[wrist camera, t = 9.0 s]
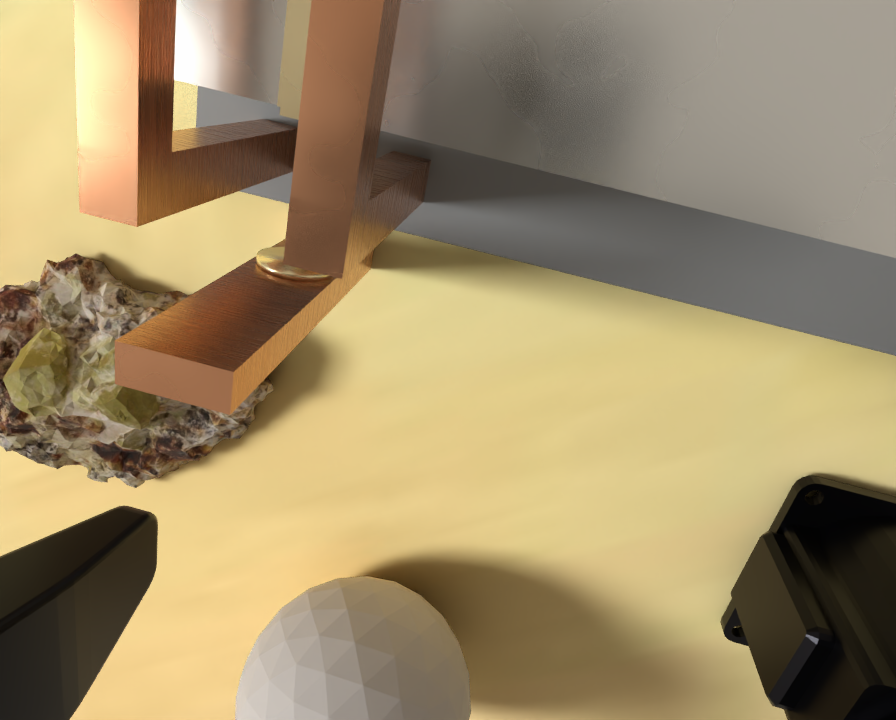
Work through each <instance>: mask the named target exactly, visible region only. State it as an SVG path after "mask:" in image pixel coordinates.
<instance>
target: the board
mask: <svg viewBox="0 0 896 720" xmlns="http://www.w3.org/2000/svg"><path fill="white" fill-rule="evenodd" d="M258 119H266V120H270V121H274V122H278V123H282V124H286V125H290V126H295V127H298V120H297V119H293V118H289V117H285V116H281V115H280V107H278V106H277V105H275V104H271V103H267V102H263V101H259V100H254V99H250V98H246V97H242V96H238V95H234V94H230V93H226V92H222V91H218V90H214V89H210V88H206V87H202V86H198V98H197V120H196V128H199V127H206V126H214V125H221V124H229V123H236V122H244V121H251V120H258ZM392 151H397V152H401V153H405V154H409V155H413V156H417V157H421V158H425V159H429V160H431V164H430V169H429V175H428V180H427V185H426V190H425V195H424V200H423V203H422V204H421V205H420V206H419V207H418V208H417V209H416V210H415V211H413V212H412V213H411V214H410V215H409V216H408V217H407V218H406V219H405V220H404V221H403V222H402V223H401V224H400V225H399V226H398V227H397V228H396V229H395V230H396V231H400V232H404V233H408V234H412V235H416V236H420V237H424V238H428V239H432V240H436V241H440V242H444V243H448V244H452V245H456V246H460V247H464V248H468V249H472V250H476V251H480V252H484V253H488V254H492V255H496V256H500V257H504V258H508V259H512V260H516V261H520V262H524V263H528V264H532V265H536V266H540V267H544V268H548V269H552V270H556V271H560V272H564V273H568V274H572V275H576V276H580V277H584V278H588V279H592V280H596V281H600V282H604V283H608V284H612V285H616V286H620V287H624V288H628V289H632V290H636V291H640V292H644V293H648V294H652V295H656V296H660V297H664V298H668V299H672V300H676V301H680V302H684V303H688V304H692V305H696V306H700V307H704V308H708V309H712V310H716V311H720V312H724V313H728V314H732V315H736V316H740V317H744V318H748V319H752V320H756V321H760V322H764V323H768V324H772V325H776V326H780V327H784V328H788V329H792V330H796V331H800V332H804V333H808V334H812V335H816V336H820V337H824V338H828V339H832V340H836V341H839V342H843V343H847V344H851V345H855V346H859V347H863V348H867V349H871V350H875V351H879V352H883V353H887V354H891V355H895V356H896V258H893V257H889V256H885V255H881V254H877V253H873V252H869V251H865V250H861V249H857V248H853V247H849V246H845V245H841V244H837V243H833V242H829V241H825V240H821V239H817V238H813V237H809V236H804V235H800V234H796V233H792V232H788V231H784V230H780V229H776V228H772V227H768V226H764V225H760V224H756V223H752V222H748V221H744V220H740V219H736V218H732V217H728V216H724V215H720V214H716V213H711V212H707V211H703V210H699V209H695V208H691V207H687V206H683V205H679V204H675V203H671V202H667V201H663V200H659V199H655V198H651V197H647V196H643V195H639V194H635V193H631V192H627V191H623V190H618V189H614V188H610V187H606V186H602V185H598V184H594V183H590V182H586V181H582V180H578V179H574V178H570V177H566V176H562V175H558V174H554V173H550V172H546V171H542V170H538V169H534V168H529V167H525V166H521V165H517V164H513V163H509V162H505V161H501V160H497V159H493V158H489V157H485V156H481V155H477V154H473V153H469V152H465V151H461V150H457V149H453V148H449V147H445V146H441V145H436V144H432V143H428V142H424V141H420V140H416V139H412V138H408V137H404V136H400V135H396V134H392V133H388V132H384V131H380V135H379V141H378V148H377V154H376V158H378V157H381V156H383V155H385V154H387V153H390V152H392ZM292 176H293V172H291V173H288V174H285V175H282V176H280V177H277V178H274V179H271V180H268V181H265V182H263V183H260V184H257V185H254V186H251V187H248V188H246V189H243V190H240V191H241V192H245V193H249V194H253V195H257V196H261V197H265V198H269V199H273V200H277V201H281V202H285V203H290V194H291V185H292Z"/></svg>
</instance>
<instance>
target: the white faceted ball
mask: <svg viewBox="0 0 896 720" xmlns="http://www.w3.org/2000/svg"><path fill="white" fill-rule="evenodd" d="M470 713H471V704H470V681H469V671H468V668H467V665H466V662H465V659H464V656H463V653H462V650H461V647H460V644H459V641H458V640H457V638H456V636H455V635H454V633H453V631H452V630H451V628H450V627H449V625H448V623H447V622H446V620H445V618H444V617H443V615H442V614H440V613H439V612H438V611H437V610H436V609H435V608H434V607H433V606H432V605H431V604H430V603H429V602H427V601H426V600H425V599H424V598H423V597H422V596H421V595H420V594H418V593H416V592H414V591H412V590H410V589H408V588H406V587H404V586H403V585H401V584H399V583H397V582H395V581H390V580H384V579H379V578H374V577H369V576H362V577H350V578H339V579H335V580H332V581H329V582H326V583H324V584H321V585H318V586H315V587H312V588H310V589H308V590H306V591H305V592H304V593H302V594H301V595H299V596H298V597H296V598H295V599H294V600H292V601H291V602H289V603H288V604H286V605H285V606H284V607H282V608H281V609H280V611H279V612H278V613H277V614H276V615H275V617H274V618H273V619H272V620H271V621H270V623H269V624H268V625H267V626H266V628H265V629H264V630H263V631H262V633H261V634H260V635H259V636H258V638H257V640H256V642H255V644H254V646H253V648H252V650H251V652H250V654H249V656H248V658H247V660H246V663H245V666H244V669H243V672H242V675H241V678H240V683H239V687H238V691H237V696H236V712H235V720H469V717H470Z"/></svg>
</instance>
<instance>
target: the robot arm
mask: <svg viewBox="0 0 896 720" xmlns="http://www.w3.org/2000/svg"><path fill="white" fill-rule="evenodd" d="M811 491H818V493H817V494H816V495H815V496H812V497H805V496H806V495H807V494H808V493H809V492H811ZM157 536H158V522H157V518H156V516H155V515H154V514H152V513H151V512H147V511H144V510H140V509H136V508H133V507H129V506H119V507H116V508H114V509H111V510H109V511H106V512H104V513H102V514H99V515H97V516H95V517H92V518H90V519H88V520H85V521H83V522H80V523H78V524H76V525H73V526H71V527H69V528H66V529H64V530H62V531H59V532H57V533H54V534H52V535H50V536H47V537H45V538H43V539H40V540H38V541H36V542H33V543H31V544H28V545H26V546H24V547H21V548H19V549H17V550H14V551H12V552H10V553H7V554H5V555H2V556H0V720H70V718H71V717H72V715H73V714H74V712H75V711H76V709H77V708H78V706H79V705H80V703H81V702H82V700H83V698H84V697H85V695H86V694H87V692H88V690H89V689H90V687H91V685H92V684H93V682H94V680H95V679H96V677H97V675H98V674H99V672H100V670H101V668H102V667H103V665H104V663H105V662H106V660H107V658H108V656H109V655H110V653H111V651H112V650H113V648H114V646H115V644H116V643H117V641H118V639H119V638H120V636H121V634H122V632H123V631H124V629H125V627H126V626H127V624H128V622H129V620H130V619H131V617H132V615H133V614H134V612H135V610H136V608H137V607H138V605H139V603H140V602H141V600H142V598H143V596H144V595H145V593H146V591H147V590H148V588H149V586H150V584H151V582H152V580H153V577H154V574H155V571H156V565H157ZM731 596H732V600H731V602H730V603H729V605H728V607H727V609H726V611H725V613H724V615H723V616H722V619H721V625H722V629H723V632H724V635H725V637H726V638H727V639H728V640H730V641H733V642H735V643H739V644H743V645H746V646H749V648H750V651H751V654H752V656H753V659H754V662H755V665H756V668H757V671H758V674H759V676H760V679H761V682H762V685H763V688H764V691H765V694H766V696H767V697H768V699H769V701H770V702H771V704H772V706H775V707H779V708H782V709H784V711H785V713H786V716H787V719H788V720H896V497H894V496H890V495H886V494H883V493H879V492H875V491H871V490H867V489H863V488H860V487H856V486H852V485H848V484H844V483H840V482H837V481H833V480H829V479H825V478H821V477H817V476H807V477H803V478H801V479H799V480H797V481H796V482H795V484H794V485H793V486H792V488H791V490H790V492H789V494H788V496H787V497H786V499H785V501H784V503H783V505H782V507H781V509H780V510H779V512H778V514H777V516H776V518H775V520H774V522H773V523H772V525H771V527H770V529H769V531H767V532H766V533H765V534H763V535H762V536H761V537H760V539H759V540H758V542H757V544H756V546H755V548H754V550H753V552H752V554H751V555H750V557H749V559H748V561H747V563H746V565H745V567H744V569H743V570H742V572H741V574H740V576H739V578H738V580H737V582H736V584H735V585H734V587H733V589H732V591H731ZM738 625H741V626H742V627H739V628H734V627H735V626H738Z"/></svg>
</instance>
